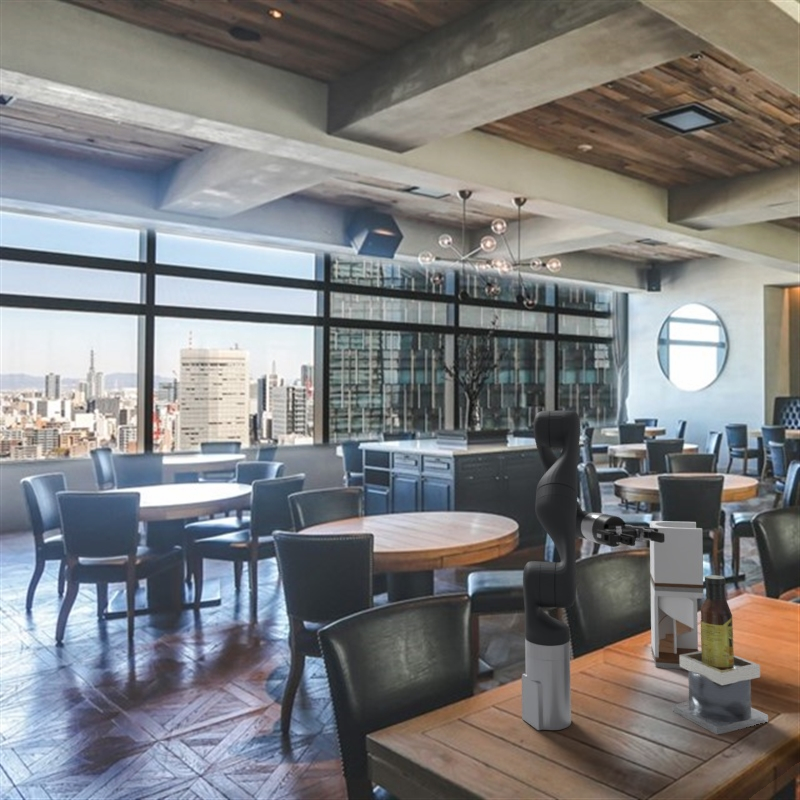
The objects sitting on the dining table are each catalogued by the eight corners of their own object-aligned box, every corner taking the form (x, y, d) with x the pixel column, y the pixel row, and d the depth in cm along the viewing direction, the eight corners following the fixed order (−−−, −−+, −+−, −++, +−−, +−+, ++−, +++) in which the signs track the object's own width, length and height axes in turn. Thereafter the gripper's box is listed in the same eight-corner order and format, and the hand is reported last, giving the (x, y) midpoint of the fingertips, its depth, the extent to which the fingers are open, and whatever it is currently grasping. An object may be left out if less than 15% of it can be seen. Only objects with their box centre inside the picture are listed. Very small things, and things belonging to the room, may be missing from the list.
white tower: (655, 667, 182) (653, 527, 182) (651, 652, 192) (649, 520, 193) (704, 670, 179) (702, 528, 180) (697, 655, 190) (695, 522, 190)
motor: (717, 734, 145) (716, 674, 145) (673, 711, 156) (672, 655, 156) (768, 722, 150) (767, 664, 150) (722, 700, 161) (721, 646, 161)
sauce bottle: (737, 677, 149) (735, 581, 150) (705, 676, 151) (703, 580, 151) (729, 666, 156) (727, 574, 156) (698, 665, 157) (697, 573, 157)
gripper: (579, 516, 179) (623, 525, 164) (626, 512, 184) (672, 521, 169) (580, 546, 179) (624, 559, 164) (626, 541, 184) (673, 553, 169)
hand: (648, 539), depth 166 cm, fingers open, 8 cm apart
